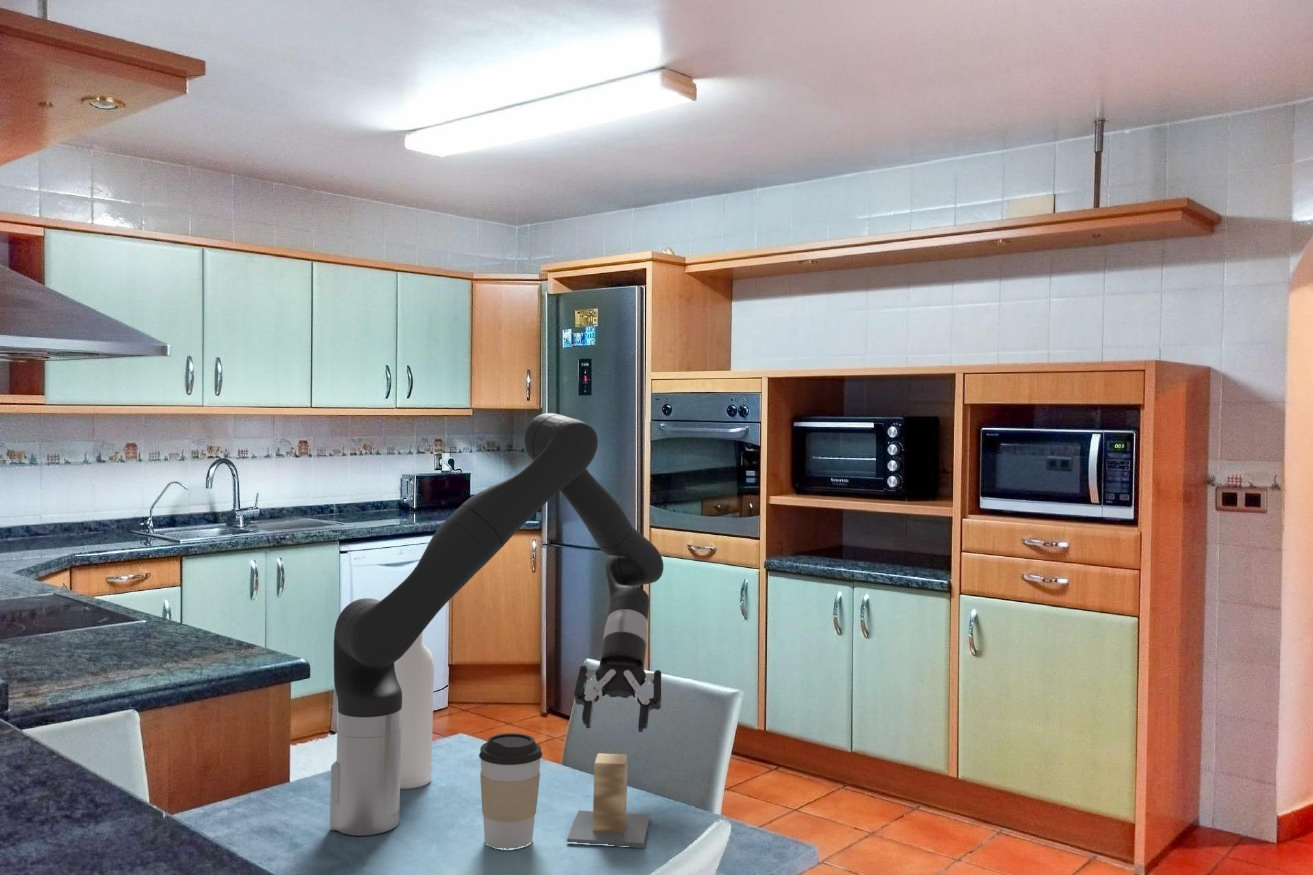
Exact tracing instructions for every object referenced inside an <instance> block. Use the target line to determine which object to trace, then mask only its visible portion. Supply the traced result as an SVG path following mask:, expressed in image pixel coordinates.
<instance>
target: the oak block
mask: <svg viewBox="0 0 1313 875" xmlns="http://www.w3.org/2000/svg"><path fill="white" fill-rule="evenodd" d="M628 759H629V758H628V754H624V753H623V754H622V753H621V754H620V753H601V752H599V753H597V755H596V757H595V761H594V764H593V765H594V767H593V769H594V770H593V771H594V772H593V773H594V774H593V803H592V811H593V831H604V832H623V831H624V827H625V823H626V813H627V800H628V799H627V798H628V797H627V795H628V794H627V793H628V790H627V789H628Z"/></svg>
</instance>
